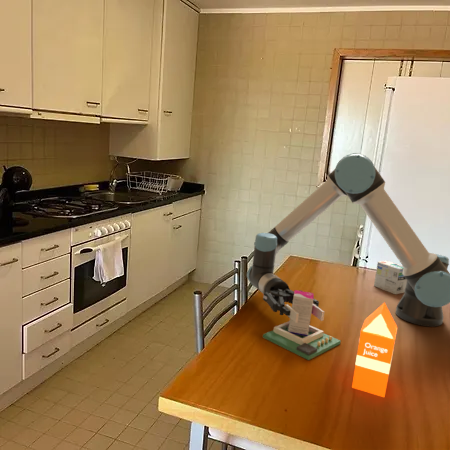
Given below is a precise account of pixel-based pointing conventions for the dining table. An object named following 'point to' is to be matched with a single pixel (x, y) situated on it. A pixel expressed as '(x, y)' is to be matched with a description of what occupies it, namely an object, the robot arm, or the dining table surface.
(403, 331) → the dining table surface
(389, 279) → the light bulb box
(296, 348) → the socket board
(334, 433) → the dining table surface
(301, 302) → the supplement box
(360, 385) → the orange juice
